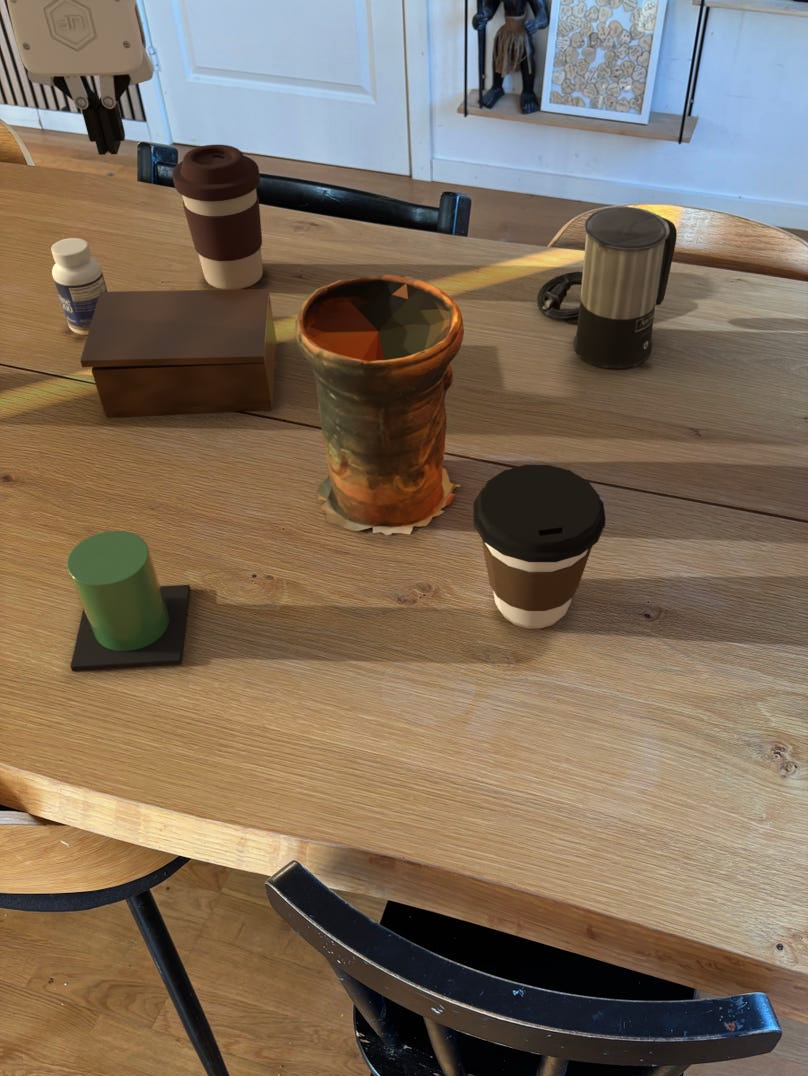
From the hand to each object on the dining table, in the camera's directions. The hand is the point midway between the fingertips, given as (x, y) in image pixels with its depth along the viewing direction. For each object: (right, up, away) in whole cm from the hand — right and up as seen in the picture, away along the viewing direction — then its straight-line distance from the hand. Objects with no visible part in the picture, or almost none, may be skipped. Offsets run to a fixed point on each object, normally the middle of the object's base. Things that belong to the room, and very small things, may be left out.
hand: (110, 148), depth 95 cm
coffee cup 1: (+3, 0, +34) cm, 34 cm away
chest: (+3, -16, +19) cm, 25 cm away
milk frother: (+48, -9, +27) cm, 55 cm away
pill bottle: (-12, -9, +26) cm, 30 cm away
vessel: (+26, -32, +6) cm, 41 cm away
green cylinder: (+4, -44, -7) cm, 45 cm away
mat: (+4, -45, -6) cm, 46 cm away
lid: (+2, -12, +14) cm, 19 cm away
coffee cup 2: (+39, -43, -3) cm, 58 cm away
